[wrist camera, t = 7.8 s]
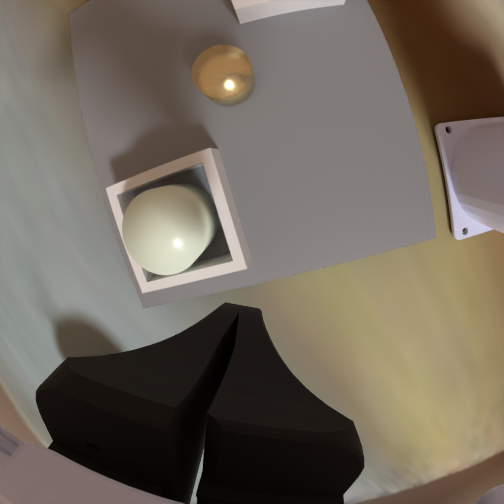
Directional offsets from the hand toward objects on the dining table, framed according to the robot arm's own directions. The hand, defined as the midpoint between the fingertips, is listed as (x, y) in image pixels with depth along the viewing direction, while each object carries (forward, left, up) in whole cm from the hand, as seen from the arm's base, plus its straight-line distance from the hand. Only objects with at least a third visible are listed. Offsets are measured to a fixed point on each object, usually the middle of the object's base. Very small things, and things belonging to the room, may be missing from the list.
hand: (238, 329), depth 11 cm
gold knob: (-1, -11, -8) cm, 13 cm away
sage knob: (+4, -4, -8) cm, 9 cm away
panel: (-1, -11, -9) cm, 14 cm away
